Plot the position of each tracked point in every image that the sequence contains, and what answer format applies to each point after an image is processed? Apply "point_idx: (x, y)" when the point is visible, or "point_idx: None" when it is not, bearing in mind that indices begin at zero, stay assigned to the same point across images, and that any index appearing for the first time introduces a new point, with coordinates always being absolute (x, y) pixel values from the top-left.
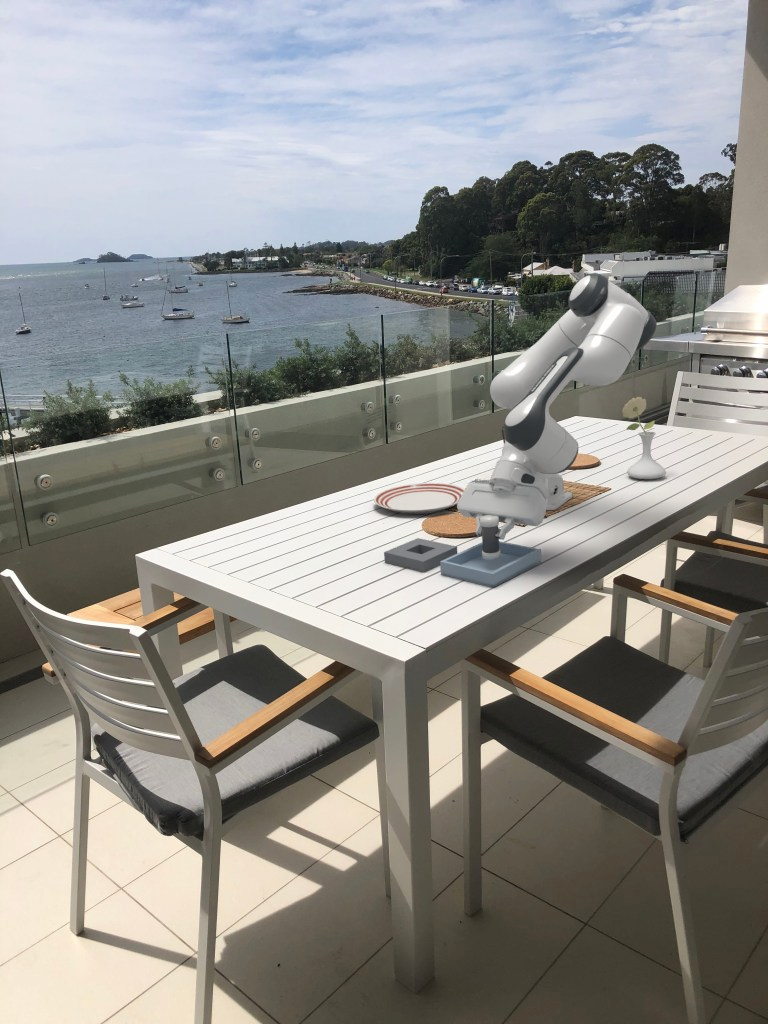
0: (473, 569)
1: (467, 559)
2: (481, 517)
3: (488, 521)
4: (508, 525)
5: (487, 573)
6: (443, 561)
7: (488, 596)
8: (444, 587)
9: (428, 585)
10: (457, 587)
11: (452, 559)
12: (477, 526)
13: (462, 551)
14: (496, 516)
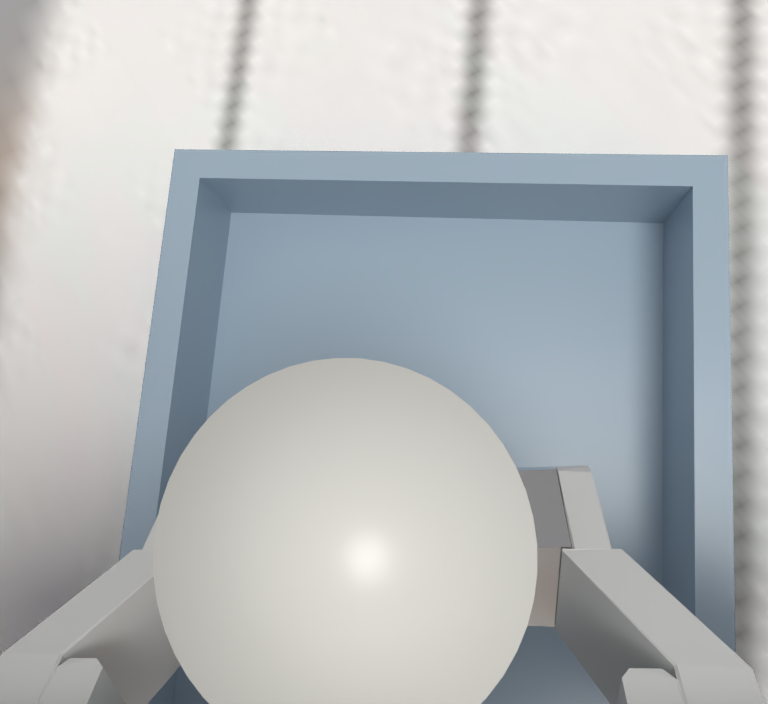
0: (357, 153)
1: (666, 511)
2: (501, 501)
3: (265, 381)
4: (55, 626)
5: (226, 153)
6: (700, 169)
7: (177, 71)
8: (502, 36)
9: (621, 6)
10: (425, 81)
11: (688, 291)
12: (602, 531)
13: (727, 483)
14: (240, 690)
